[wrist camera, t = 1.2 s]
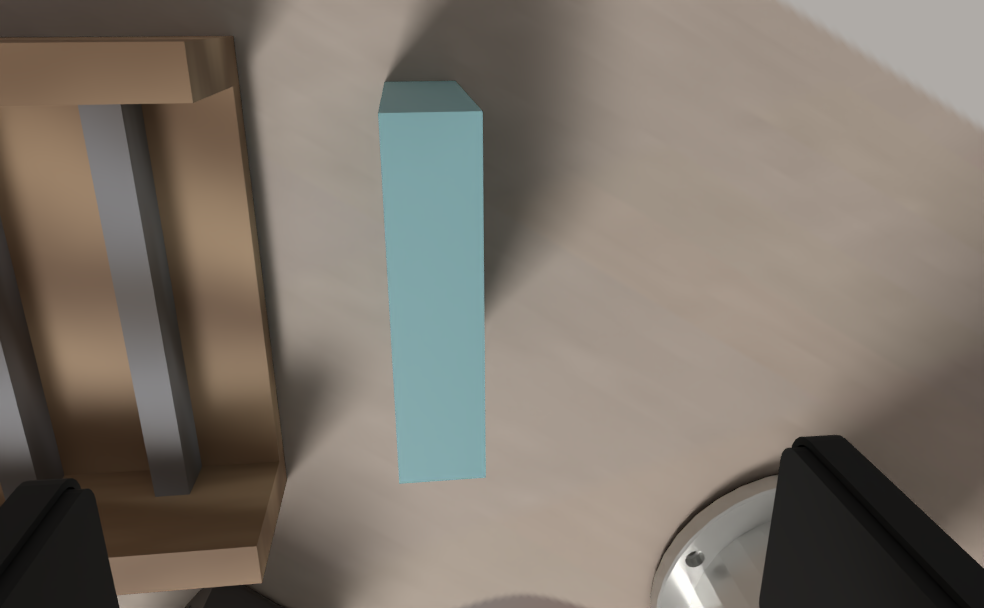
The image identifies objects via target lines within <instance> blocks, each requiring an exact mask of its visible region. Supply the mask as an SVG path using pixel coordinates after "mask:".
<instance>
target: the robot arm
mask: <svg viewBox="0 0 984 608" xmlns="http://www.w3.org/2000/svg"><path fill="white" fill-rule="evenodd" d="M650 607H651V608H984V568H983V567H982V566H980V565H979V564H978V563H977V562H976V561H975V560H974V559H973V558H972V557H971V556H970V555H969V554H968V553H967V552H966V551H964V550H963V549H962V548H961V547H960V546H959V545H958V544H957V543H956V542H955V541H954V540H953V539H952V538H951V537H950V536H948V535H947V534H946V533H945V532H944V531H943V530H942V529H941V528H940V527H939V526H938V525H937V524H936V523H935V522H934V521H933V520H931V519H930V518H929V517H928V516H927V515H926V514H925V513H924V512H923V511H922V510H921V509H920V508H919V507H918V506H917V505H915V504H914V503H913V502H912V501H911V500H910V499H909V498H908V497H907V496H906V495H905V494H904V493H903V492H902V491H901V490H900V489H898V488H897V487H896V486H895V485H894V484H893V483H892V482H891V481H890V480H889V479H888V478H887V477H886V476H885V475H884V474H882V473H881V472H880V471H879V470H878V469H877V468H876V467H875V466H874V465H873V464H872V463H871V462H870V461H869V460H868V459H866V458H865V457H864V456H863V455H862V454H861V453H860V452H859V451H858V450H857V449H856V448H855V447H854V446H853V445H852V444H851V443H849V442H848V441H847V440H846V439H845V438H843V437H842V436H840V435H827V436H810V437H799V438H797V439H796V440H795V441H794V443H793V445H792V448H787V449H785V450H784V451H783V453H782V456H781V460H780V467H779V473H778V475H775V476H770V477H766V478H763V479H760V480H757V481H755V482H752V483H749V484H746V485H744V486H741V487H739V488H737V489H735V490H734V491H732V492H730V493H728V494H726V495H724V496H723V497H721V498H719V499H717V500H716V501H714V502H713V503H712V504H710V505H709V506H708V507H707V508H705V509H704V510H703V511H701V512H700V513H699V514H697V515H696V516H695V517H694V518H693V519H692V520H691V521H690V522H689V523H688V524H687V525H686V526H685V527H684V528H683V529H682V530H681V532H680V533H679V534H678V535H677V536H676V538H675V539H674V541H673V542H672V544H671V545H670V546H669V548H668V549H667V551H666V552H665V554H664V556H663V558H662V560H661V562H660V565H659V567H658V569H657V572H656V574H655V576H654V581H653V586H652V591H651V596H650ZM0 608H119V604H118V599H117V595H116V590H115V585H114V581H113V576H112V572H111V567H110V562H109V558H108V553H107V549H106V544H105V539H104V535H103V530H102V526H101V521H100V516H99V512H98V507H97V503H96V498H95V495H94V493H93V492H92V490H90V489H88V488H87V489H81V486H80V484H79V483H78V482H77V480H75V479H73V478H64V479H46V480H29V481H24V482H22V483H21V484H20V485H19V486H18V487H17V488H16V489H15V490H14V491H13V492H12V494H11V495H10V496H9V497H8V498H7V500H6V501H5V502H4V503H3V504H2V505H1V507H0Z"/></svg>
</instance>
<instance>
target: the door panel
mask: <svg viewBox="0 0 984 608" xmlns="http://www.w3.org/2000/svg"><path fill="white" fill-rule="evenodd" d="M378 119H379V136H380V154H381V171H382V189H383V206H384V223H385V241H386V258H387V276H388V293H389V311H390V328H391V345H392V363H393V380H394V398H395V415H396V433H397V450H398V467H399V484H401V483H415V482H429V481H443V480H458V479H472V478H486V459H485V339H484V219H483V111H482V110H481V109H480V108H479V107H478V106H477V104H476V103H475V102H474V101H473V100H472V99H471V98H470V97H469V96H468V94H467V93H466V92H465V91H464V90H463V89H462V88H461V87H460V86H459V85H458V83H457V82H456V81H406V82H385V83H384V88H383V92H382V97H381V102H380V107H379V112H378Z"/></svg>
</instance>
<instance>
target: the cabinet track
mask: <svg viewBox="0 0 984 608" xmlns="http://www.w3.org/2000/svg"><path fill="white" fill-rule="evenodd" d="M64 478H73V479H75V480H77V482H78V483H79V484H80V486H81V489H87V488H88V489H90V490H92V492H93V493H94V495H95V498H96V503H97V507H98V512H99V516H100V521H101V526H102V530H103V535H104V539H105V544H106V549H107V553H108V558H109V562H110V567H111V572H112V576H113V581H114V585H115V590H116V595H125V594H137V593H149V592H161V591H173V590H185V589H197V588H209V587H221V586H233V585H245V584H257V583H262V581H263V577H264V573H265V568H266V564H267V560H268V556H269V552H270V548H271V544H272V539H273V535H274V531H275V527H276V523H277V519H278V515H279V510H280V506H281V502H282V498H283V494H284V490H285V486H286V482H287V475H286V467H285V459H284V451H283V442H282V434H281V426H280V418H279V409H278V401H277V393H276V385H275V376H274V368H273V360H272V351H271V343H270V335H269V327H268V318H267V310H266V302H265V294H264V285H263V277H262V269H261V261H260V252H259V244H258V236H257V228H256V219H255V211H254V203H253V195H252V186H251V178H250V170H249V161H248V153H247V145H246V137H245V128H244V120H243V112H242V104H241V95H240V87H239V79H238V71H237V62H236V54H235V46H234V38H233V36H152V37H4V38H0V507H1V505H2V504H3V503H4V502H5V501H6V500H7V498H8V497H9V496H10V495H11V494H12V492H13V491H14V490H15V489H16V488H17V487H18V486H19V485H20V484H21V483H22V482H24V481H29V480H46V479H64Z"/></svg>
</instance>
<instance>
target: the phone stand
mask: <svg viewBox="0 0 984 608" xmlns="http://www.w3.org/2000/svg"><path fill="white" fill-rule="evenodd" d="M185 608H283V607H281V606H279V605H277V604H276V603H274V602H272V601H270V600H269V599H267V598H265V597H263V596H261V595H260V594H258V593H256V592H254V591H253V590H251V589H249V588H247V587H245V586H244V585H233V586H221V587H209V588H202V589H201V590H200V591H199V592H198V593H197V595H196V596H195V597H194V598H193V599H192V600H191V601H190V602H189V603H188V604H187V605H186V607H185Z"/></svg>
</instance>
